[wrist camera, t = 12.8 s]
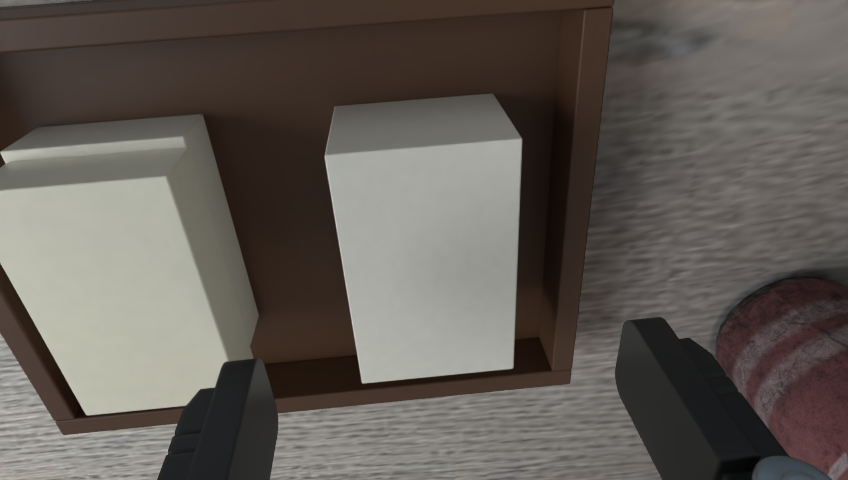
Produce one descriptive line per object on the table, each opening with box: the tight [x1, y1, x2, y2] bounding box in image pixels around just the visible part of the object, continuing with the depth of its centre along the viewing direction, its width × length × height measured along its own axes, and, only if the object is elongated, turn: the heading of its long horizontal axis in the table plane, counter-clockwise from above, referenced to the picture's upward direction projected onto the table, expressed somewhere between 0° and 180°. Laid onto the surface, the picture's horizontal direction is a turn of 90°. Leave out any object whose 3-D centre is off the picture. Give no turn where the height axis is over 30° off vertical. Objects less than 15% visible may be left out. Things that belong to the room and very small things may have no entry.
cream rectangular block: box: [325, 94, 522, 384], centre depth 17 cm, size 8×5×4 cm, turn 3°
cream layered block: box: [0, 114, 259, 415], centre depth 17 cm, size 8×5×4 cm, turn 3°
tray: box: [0, 0, 614, 435], centre depth 18 cm, size 15×20×3 cm
